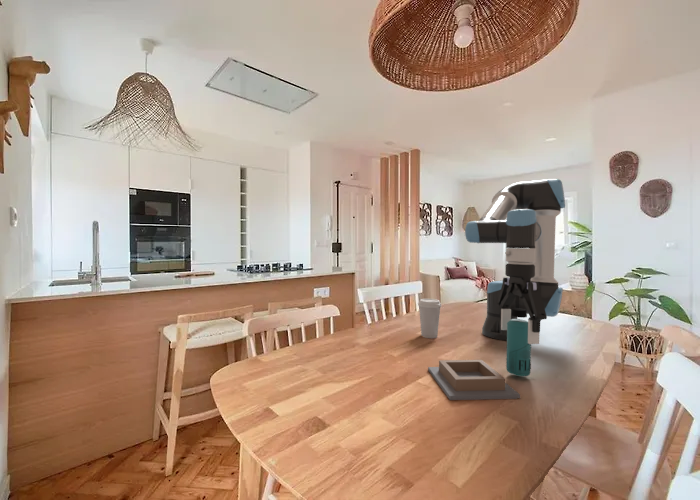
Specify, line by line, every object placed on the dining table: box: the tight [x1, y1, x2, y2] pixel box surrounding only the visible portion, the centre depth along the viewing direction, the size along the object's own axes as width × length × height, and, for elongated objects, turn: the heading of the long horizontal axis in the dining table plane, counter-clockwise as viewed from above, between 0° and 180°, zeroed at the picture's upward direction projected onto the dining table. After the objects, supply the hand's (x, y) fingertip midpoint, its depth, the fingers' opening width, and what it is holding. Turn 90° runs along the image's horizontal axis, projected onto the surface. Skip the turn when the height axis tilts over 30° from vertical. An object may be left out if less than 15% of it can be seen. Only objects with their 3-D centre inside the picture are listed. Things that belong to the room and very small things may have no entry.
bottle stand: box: [427, 359, 521, 401], centre depth 87 cm, size 18×18×4 cm
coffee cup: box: [417, 298, 442, 339], centre depth 130 cm, size 10×10×15 cm
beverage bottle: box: [505, 308, 532, 377], centre depth 91 cm, size 6×7×20 cm
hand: (518, 336), depth 91 cm, fingers open, 13 cm apart
